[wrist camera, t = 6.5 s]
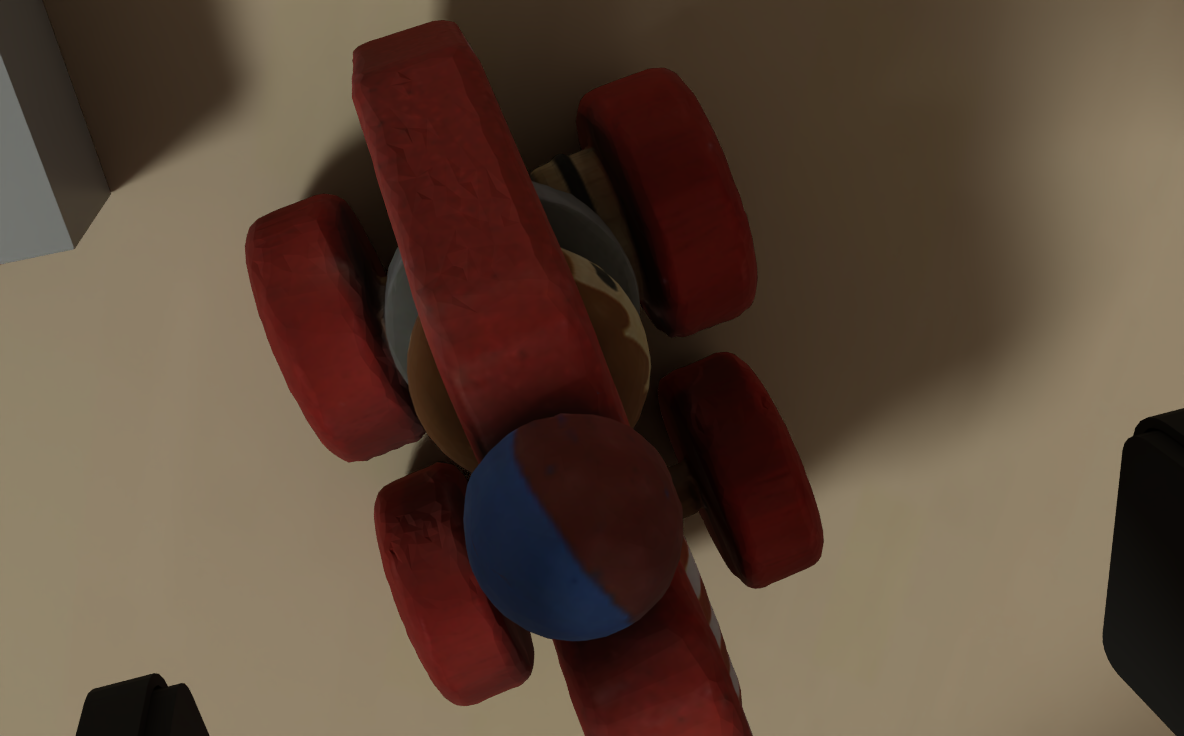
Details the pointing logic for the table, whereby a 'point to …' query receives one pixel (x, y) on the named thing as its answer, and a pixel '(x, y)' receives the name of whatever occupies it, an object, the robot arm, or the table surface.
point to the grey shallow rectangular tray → (41, 142)
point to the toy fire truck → (542, 385)
